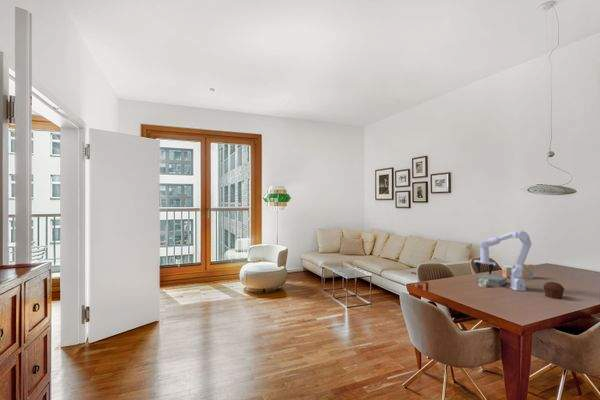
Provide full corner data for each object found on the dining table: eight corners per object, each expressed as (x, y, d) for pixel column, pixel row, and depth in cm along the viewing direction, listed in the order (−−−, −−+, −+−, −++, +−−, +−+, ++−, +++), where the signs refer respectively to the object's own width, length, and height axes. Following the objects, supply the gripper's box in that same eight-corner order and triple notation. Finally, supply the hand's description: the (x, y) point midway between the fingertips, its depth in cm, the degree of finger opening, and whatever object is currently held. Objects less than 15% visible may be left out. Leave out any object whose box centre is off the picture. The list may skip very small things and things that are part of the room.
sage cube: (488, 286, 236) (488, 279, 236) (485, 287, 233) (485, 280, 233) (481, 284, 240) (481, 278, 240) (478, 285, 237) (478, 279, 237)
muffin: (566, 300, 201) (566, 285, 201) (545, 298, 206) (545, 283, 206) (561, 295, 211) (561, 281, 211) (541, 293, 217) (541, 279, 217)
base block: (506, 282, 244) (506, 277, 244) (499, 286, 234) (498, 281, 234) (484, 278, 257) (484, 274, 257) (476, 282, 247) (476, 277, 247)
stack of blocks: (506, 278, 259) (506, 263, 259) (502, 276, 265) (502, 262, 265) (533, 278, 257) (533, 264, 257) (528, 276, 263) (528, 262, 263)
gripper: (496, 256, 235) (496, 274, 235) (476, 254, 246) (476, 270, 246) (493, 257, 230) (493, 275, 230) (473, 255, 241) (473, 272, 241)
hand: (484, 273), depth 238 cm, fingers open, 7 cm apart
